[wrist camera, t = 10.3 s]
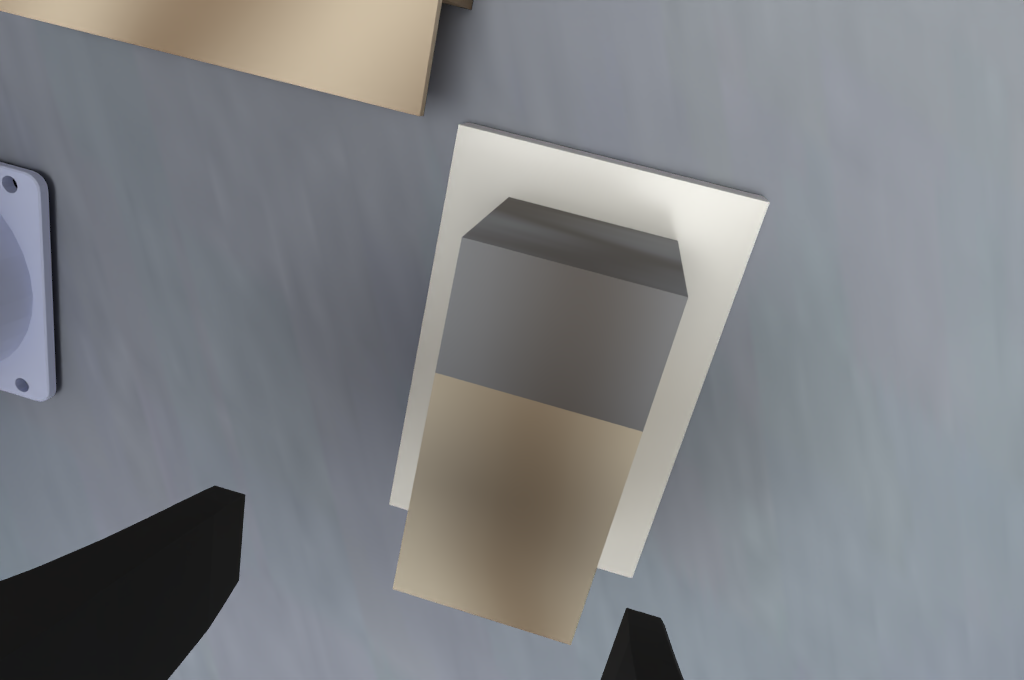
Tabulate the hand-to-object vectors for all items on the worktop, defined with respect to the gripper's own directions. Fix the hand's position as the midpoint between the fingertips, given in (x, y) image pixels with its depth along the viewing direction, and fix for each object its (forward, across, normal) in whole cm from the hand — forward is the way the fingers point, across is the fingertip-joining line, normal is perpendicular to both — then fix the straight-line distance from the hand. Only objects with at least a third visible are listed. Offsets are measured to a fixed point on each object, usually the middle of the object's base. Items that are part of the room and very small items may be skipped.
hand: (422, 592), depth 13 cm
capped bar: (+8, -1, -1) cm, 8 cm away
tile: (+9, -1, -1) cm, 9 cm away
